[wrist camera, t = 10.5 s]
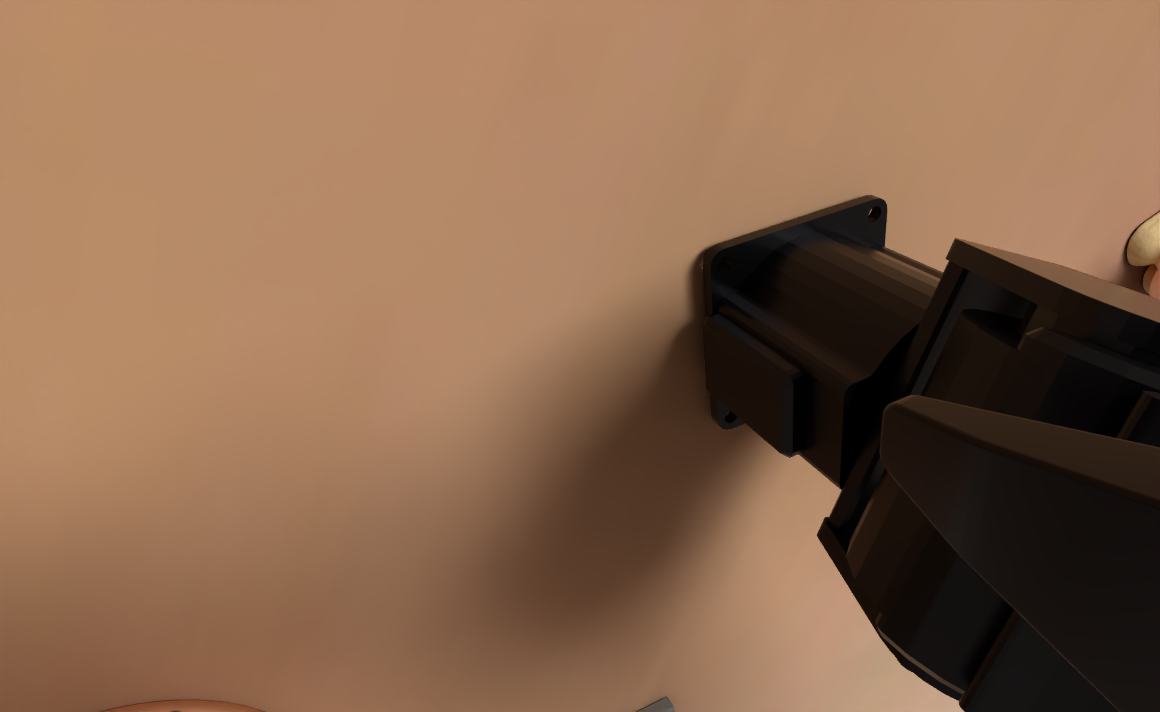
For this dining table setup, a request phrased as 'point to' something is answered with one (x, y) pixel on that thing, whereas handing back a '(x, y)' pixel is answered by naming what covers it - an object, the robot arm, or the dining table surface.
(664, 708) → the mat
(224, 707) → the bowl
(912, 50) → the dining table surface
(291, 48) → the dining table surface
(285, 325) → the dining table surface
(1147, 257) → the grandmother figurine
